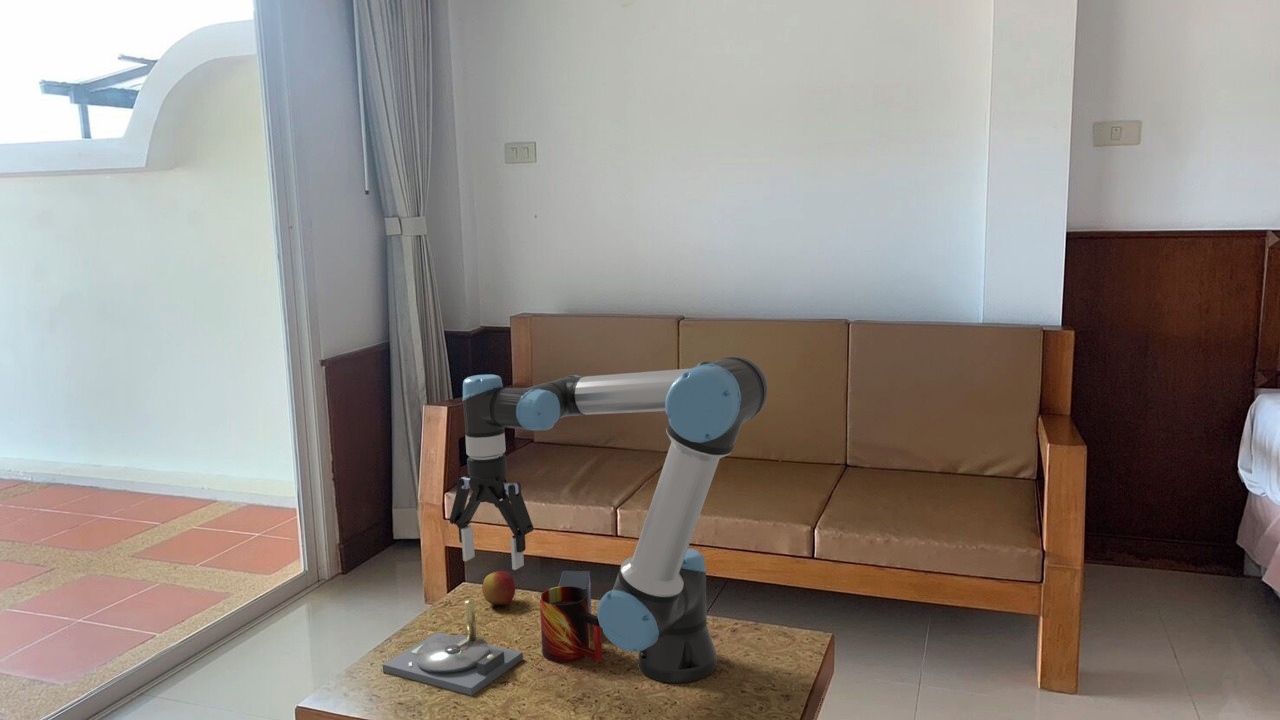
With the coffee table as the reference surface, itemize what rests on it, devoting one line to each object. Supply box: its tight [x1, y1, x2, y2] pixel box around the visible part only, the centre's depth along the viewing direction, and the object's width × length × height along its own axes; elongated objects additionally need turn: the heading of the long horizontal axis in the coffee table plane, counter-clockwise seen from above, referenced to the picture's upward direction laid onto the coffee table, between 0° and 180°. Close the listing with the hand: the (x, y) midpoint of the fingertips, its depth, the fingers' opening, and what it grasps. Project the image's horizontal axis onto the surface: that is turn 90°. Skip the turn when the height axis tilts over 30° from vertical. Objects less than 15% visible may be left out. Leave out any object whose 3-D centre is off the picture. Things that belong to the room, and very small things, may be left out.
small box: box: [557, 570, 592, 614], centre depth 199 cm, size 11×6×10 cm, turn 179°
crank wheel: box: [416, 598, 489, 673], centre depth 182 cm, size 14×14×9 cm
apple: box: [481, 570, 516, 606], centre depth 211 cm, size 8×8×8 cm
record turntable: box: [382, 631, 524, 697], centre depth 183 cm, size 22×16×4 cm
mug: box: [539, 586, 603, 664], centre depth 186 cm, size 10×14×12 cm
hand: (493, 563), depth 182 cm, fingers open, 11 cm apart
